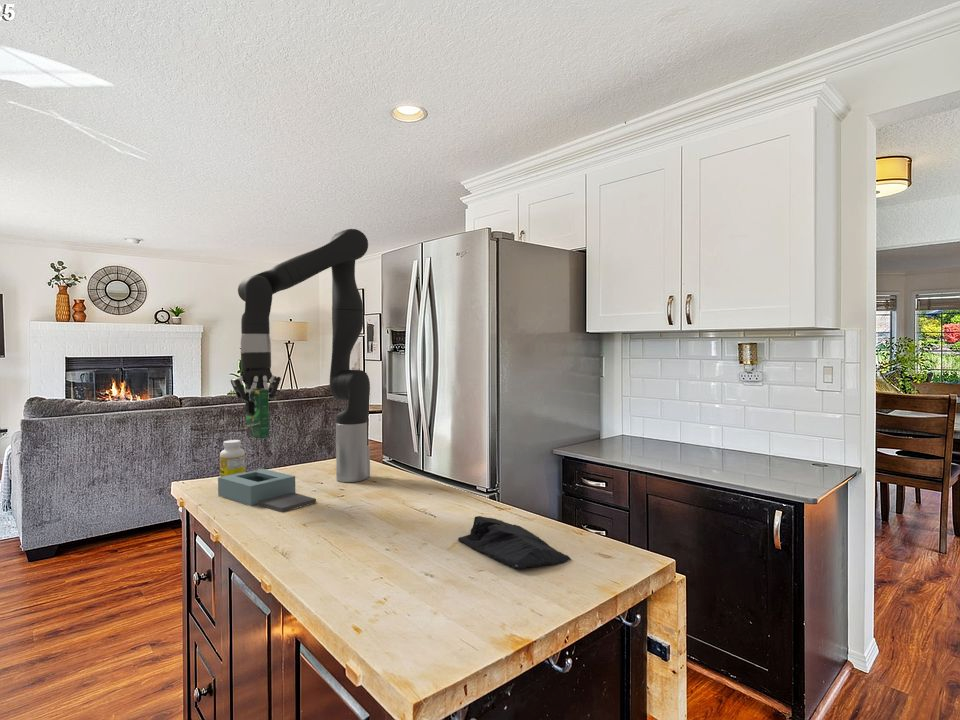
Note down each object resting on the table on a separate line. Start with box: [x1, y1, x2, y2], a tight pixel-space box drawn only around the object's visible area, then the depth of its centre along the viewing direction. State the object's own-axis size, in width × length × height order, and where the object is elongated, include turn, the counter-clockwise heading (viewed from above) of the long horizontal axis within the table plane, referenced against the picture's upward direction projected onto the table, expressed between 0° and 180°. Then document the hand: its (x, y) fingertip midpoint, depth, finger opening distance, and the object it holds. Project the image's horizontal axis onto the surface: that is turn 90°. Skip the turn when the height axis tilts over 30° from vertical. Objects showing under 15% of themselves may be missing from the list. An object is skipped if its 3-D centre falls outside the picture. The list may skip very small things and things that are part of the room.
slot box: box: [217, 468, 296, 507], centre depth 145 cm, size 13×16×5 cm
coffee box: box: [245, 388, 270, 440], centre depth 145 cm, size 8×3×13 cm, turn 49°
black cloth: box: [457, 515, 572, 570], centre depth 106 cm, size 15×22×5 cm
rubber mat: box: [257, 492, 317, 513], centre depth 137 cm, size 10×10×1 cm
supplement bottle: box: [219, 439, 246, 477], centre depth 156 cm, size 7×7×13 cm
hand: (257, 414), depth 145 cm, fingers closed on coffee box, 3 cm apart
